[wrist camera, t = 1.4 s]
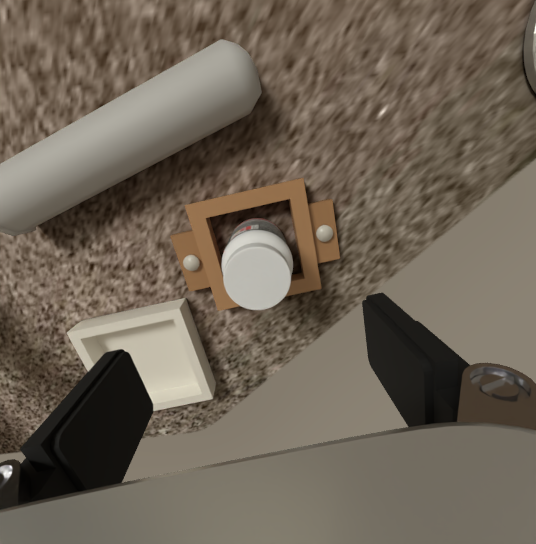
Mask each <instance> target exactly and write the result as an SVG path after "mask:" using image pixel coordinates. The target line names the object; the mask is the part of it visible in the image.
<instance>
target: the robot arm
mask: <svg viewBox="0 0 536 544" xmlns="http://www.w3.org/2000/svg"><path fill="white" fill-rule="evenodd" d="M524 65H525V70H526V74H527V78H528V80H529V83H530V85H531V87H532V89H533V91H534V92H535V93H536V1H535V3H534V5H533V8H532V10H531V13H530V16H529V20H528V24H527V27H526V32H525V40H524ZM362 305H363V315H364V324H365V333H366V342H367V351H368V359H369V362H370V365H371V367H372V369H373V371H374V372H375V374H376V375H377V377H378V379H379V380H380V382H381V383H382V385H383V387H384V388H385V390H386V392H387V393H388V395H389V396H390V398H391V400H392V401H393V403H394V404H395V406H396V408H397V409H398V411H399V412H400V414H401V416H402V417H403V419H404V420H405V422H406V424H407V425H408V427H406V428H400V429H394V430H388V431H383V432H377V433H372V434H366V435H361V436H355V437H349V438H344V439H339V440H334V441H329V442H323V443H318V444H313V445H308V446H303V447H298V448H293V449H287V450H283V451H277V452H272V453H267V454H262V455H257V456H252V457H247V458H242V459H237V460H232V461H227V462H222V463H217V464H212V465H207V466H202V467H197V468H192V469H187V470H182V471H177V472H173V473H167V474H163V475H157V476H153V477H148V478H143V479H138V480H134V481H128V482H124V483H122V480H123V478H124V476H125V474H126V472H127V469H128V467H129V465H130V462H131V460H132V458H133V456H134V454H135V451H136V449H137V447H138V445H139V442H140V440H141V438H142V436H143V434H144V431H145V429H146V427H147V425H148V422H149V420H150V418H151V416H152V413H153V403H152V400H151V398H150V396H149V394H148V392H147V390H146V387H145V385H144V383H143V381H142V379H141V377H140V375H139V373H138V370H137V368H136V366H135V364H134V362H133V360H132V358H131V355H130V354H129V353H128V352H125V351H124V350H123V349H119V350H114V351H109V352H106V353H104V354H103V356H102V357H101V358H100V359H99V360H98V361H97V362H96V363H95V365H94V366H93V367H92V368H91V369H90V370H89V371H88V372H87V374H86V375H85V376H84V377H83V378H82V379H81V380H80V382H79V383H78V384H77V385H76V386H75V387H74V388H73V389H72V391H71V392H70V393H69V394H68V395H67V396H66V397H65V399H64V400H63V401H62V402H61V403H60V404H59V405H58V406H57V408H56V409H55V410H54V411H53V412H52V413H51V414H50V415H49V417H48V418H47V419H46V420H45V421H44V422H43V423H42V425H41V426H40V427H39V428H38V429H37V430H36V431H35V432H34V434H33V435H32V436H31V437H30V438H29V439H28V440H27V442H26V443H25V444H24V445H23V446H22V447H21V448H20V450H21V451H22V453H23V454H24V455H25V457H26V459H25V460H24V461H23V462H22V463H21V464H20V462H19V461H17V460H15V459H14V460H7V461H4V462H1V463H0V544H536V384H535V383H534V382H533V380H532V379H531V378H529V377H528V376H526V375H524V374H523V373H521V372H519V371H517V370H514V369H512V368H510V367H507V366H503V365H499V364H492V363H477V364H473V365H469V364H468V363H467V362H466V361H465V360H463V359H462V358H461V357H460V356H459V355H457V354H456V353H455V352H454V351H453V350H452V349H450V348H449V347H448V346H447V345H446V344H445V343H443V342H442V341H441V340H440V339H439V338H438V337H436V336H435V335H434V334H433V333H432V332H430V331H429V330H428V329H427V328H426V327H425V326H423V325H422V324H421V323H420V322H418V321H415V320H413V319H412V318H411V317H410V316H409V315H408V314H407V313H405V312H404V311H403V310H402V309H401V308H400V307H399V306H397V305H396V304H395V303H394V302H393V301H392V300H391V299H389V298H388V297H387V296H386V295H385V294H384V293H378V294H373V295H369V296H367V298H366V300H363V302H362Z"/></svg>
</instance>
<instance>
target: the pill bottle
mask: <svg viewBox="0 0 536 544" xmlns="http://www.w3.org/2000/svg"><path fill="white" fill-rule="evenodd" d="M292 271H293V258H292V255H291V252H290V249H289V247H288V245H287V243H286V241H285V238H284V236H283V234H282V232H281V230H280V229H279V228H278V227H277V226H276V225H275V224H274V223H272V222H270V221H268V220H266V219H261V218H253V219H249V220H246V221H244V222H242V223H241V224H239V225H238V226H237V227H236V228H235V229H234V231H233V233H232V234H231V237H230V239H229V241H228V243H227V246H226V248H225V250H224V253H223V256H222V272H223V281H224V286H225V289H226V292H227V293H228V295H229V297H230V298H231V299H232V300H233V301H234V302H235V303H236V304H238V305H240V306H241V307H244V308H246V309H250V310H264V309H268V308H271V307H273V306H275V305H276V304H278V303H279V302H280V301H281V300H282V299H283V298H284V297H285V296H286V294H287V292H288V290H289V288H290V284H291V275H292Z"/></svg>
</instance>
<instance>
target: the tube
mask: <svg viewBox="0 0 536 544" xmlns="http://www.w3.org/2000/svg"><path fill="white" fill-rule="evenodd" d="M261 93H262V91H261V86H260V81H259V75H258V70H257V68H256V66H255V64H254V62H253V60H252V59H251V57H250V55H249V53H248V52H246V51H245V50H244V49H243V48H242V47H241V46H239V45H238V44H236V43H233V42H229V41H226V40H222V39H221V40H219V41H218V42H216V43H214V44H212V45H210V46H209V47H207V48H205V49H203V50H202V51H200V52H198V53H196V54H194V55H193V56H191V57H189V58H187V59H186V60H184V61H182V62H180V63H178V64H177V65H175V66H173V67H171V68H170V69H168V70H166V71H164V72H163V73H161V74H159V75H157V76H155V77H154V78H152V79H150V80H148V81H147V82H145V83H143V84H141V85H139V86H138V87H136V88H134V89H132V90H131V91H129V92H127V93H125V94H123V95H122V96H120V97H118V98H116V99H115V100H113V101H111V102H109V103H107V104H106V105H104V106H102V107H100V108H99V109H97V110H95V111H93V112H92V113H90V114H88V115H86V116H84V117H83V118H81V119H79V120H77V121H76V122H74V123H72V124H70V125H68V126H67V127H65V128H63V129H61V130H60V131H58V132H56V133H54V134H52V135H51V136H49V137H47V138H45V139H44V140H42V141H40V142H38V143H37V144H35V145H33V146H31V147H29V148H28V149H26V150H24V151H22V152H21V153H19V154H17V155H15V156H13V157H12V158H10V159H8V160H6V161H5V162H3V163H1V164H0V232H2V233H5V234H8V235H11V236H15V235H20V234H24V233H29V232H33V231H35V230H36V226H38V225H40V224H42V223H43V222H45V221H47V220H49V219H51V218H53V217H55V216H57V215H59V214H61V213H62V212H64V211H66V210H68V209H70V208H72V207H74V206H76V205H78V204H80V203H81V202H83V201H85V200H87V199H89V198H91V197H93V196H95V195H97V194H99V193H100V192H102V191H104V190H106V189H108V188H110V187H112V186H114V185H116V184H118V183H120V182H121V181H123V180H125V179H127V178H129V177H131V176H133V175H135V174H137V173H139V172H140V171H142V170H144V169H146V168H148V167H150V166H152V165H154V164H156V163H158V162H159V161H161V160H163V159H165V158H167V157H169V156H171V155H173V154H175V153H177V152H178V151H180V150H182V149H184V148H186V147H188V146H190V145H192V144H194V143H196V142H197V141H199V140H201V139H203V138H205V137H207V136H209V135H211V134H213V133H215V132H216V131H218V130H220V129H222V128H224V127H226V126H228V125H230V124H232V123H234V122H235V121H237V120H239V119H241V118H243V117H245V116H247V115H249V114H250V113H251V112H252V110H253V108H254V106H255V104H256V102H257V100H258V98H259V97H260V95H261Z"/></svg>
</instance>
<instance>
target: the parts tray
mask: <svg viewBox="0 0 536 544" xmlns="http://www.w3.org/2000/svg"><path fill="white" fill-rule="evenodd" d="M67 334H68V336H69V338H70V340H71V342H72V344H73V345H74V347H75V349H76V351H77V353H78V354H79V356H80V358H81V360H82V362H83V363H84V365H85V367H86V369H87V371H89V370H90V369H91V368H92V367H93V366H94V365H95V363H96V362H97V361H98V360H99V359H100V358H101V357H102V356H103V354H104V353H106V352H109V351H114V350H119V349H123V350H124V351H125V352H128V353H129V354H130V355H131V358H132V360H133V362H134V364H135V366H136V368H137V370H138V373H139V375H140V377H141V379H142V381H143V383H144V385H145V387H146V390H147V392H148V394H149V396H150V398H151V400H152V403H153V411H156V410H161V409H166V408H171V407H176V406H181V405H186V404H191V403H196V402H201V401H206V400H211V399H213V397H214V392H215V387H216V381H215V378H214V376H213V373H212V370H211V367H210V364H209V362H208V359H207V356H206V353H205V350H204V348H203V345H202V342H201V339H200V336H199V334H198V331H197V328H196V325H195V322H194V319H193V317H192V314H191V311H190V308H189V305H188V303H187V300H186V298H183V299H178V300H174V301H169V302H165V303H160V304H155V305H151V306H146V307H142V308H137V309H132V310H128V311H123V312H119V313H114V314H109V315H105V316H100V317H96V318H91V319H86V320H82V321H81V322H79V323H78V324H77V325H76V326H74V327H73V328H72V329H71V330H69V331H68V332H67Z"/></svg>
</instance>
